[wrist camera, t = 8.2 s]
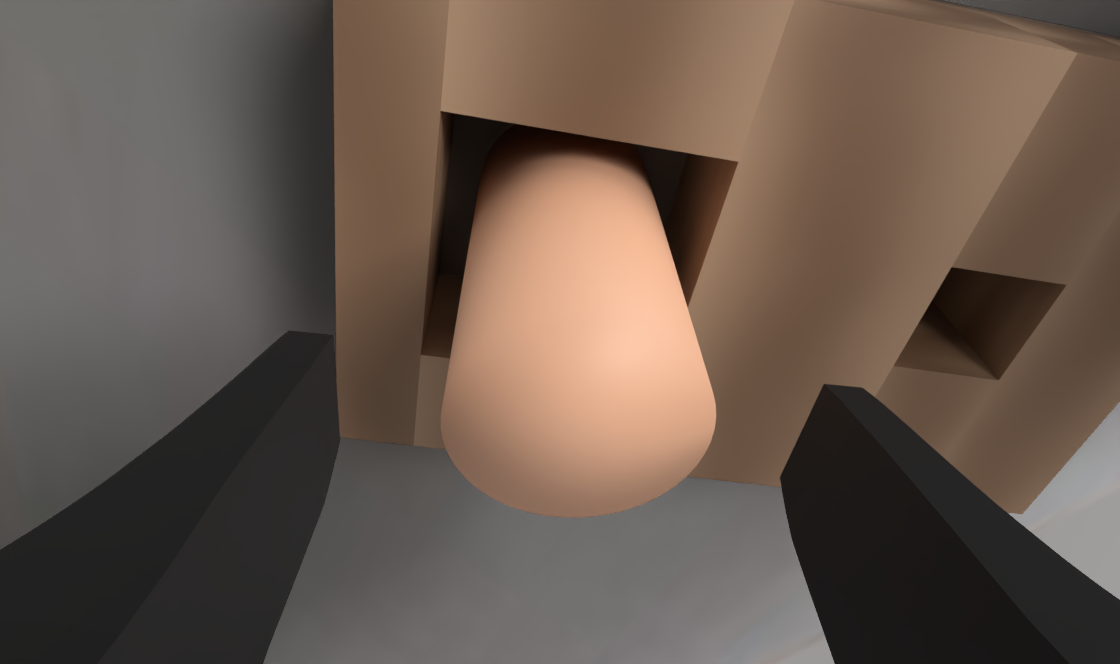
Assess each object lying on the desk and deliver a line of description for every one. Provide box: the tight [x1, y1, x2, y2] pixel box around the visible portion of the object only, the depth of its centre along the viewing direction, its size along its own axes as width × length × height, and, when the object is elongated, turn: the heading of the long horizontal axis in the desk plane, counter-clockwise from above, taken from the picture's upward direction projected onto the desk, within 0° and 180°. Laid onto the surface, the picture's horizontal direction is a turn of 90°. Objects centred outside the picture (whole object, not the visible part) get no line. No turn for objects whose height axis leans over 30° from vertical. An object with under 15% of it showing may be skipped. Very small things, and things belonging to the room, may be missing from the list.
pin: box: [440, 124, 716, 518], centre depth 13 cm, size 4×4×8 cm
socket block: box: [333, 0, 1120, 514], centre depth 16 cm, size 18×11×4 cm, turn 80°
